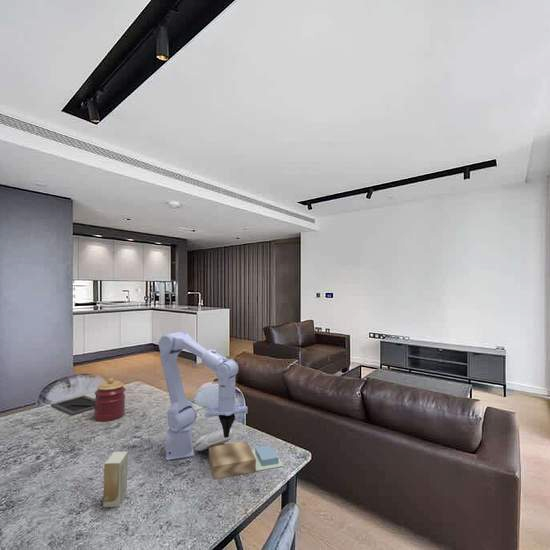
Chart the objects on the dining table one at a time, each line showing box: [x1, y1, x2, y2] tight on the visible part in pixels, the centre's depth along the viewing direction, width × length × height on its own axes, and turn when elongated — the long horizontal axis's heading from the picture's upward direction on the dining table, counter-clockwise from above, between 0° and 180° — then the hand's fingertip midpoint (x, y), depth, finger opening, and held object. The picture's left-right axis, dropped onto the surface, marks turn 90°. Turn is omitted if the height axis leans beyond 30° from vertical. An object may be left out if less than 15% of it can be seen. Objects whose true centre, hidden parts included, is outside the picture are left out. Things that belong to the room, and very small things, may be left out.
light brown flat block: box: [208, 440, 257, 480], centre depth 108 cm, size 14×13×4 cm
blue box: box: [254, 444, 279, 466], centre depth 112 cm, size 6×9×2 cm, turn 18°
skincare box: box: [102, 451, 129, 508], centre depth 90 cm, size 6×4×12 cm
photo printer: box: [194, 428, 234, 452], centre depth 117 cm, size 10×4×12 cm
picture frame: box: [50, 395, 95, 417], centre depth 159 cm, size 16×2×21 cm
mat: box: [251, 448, 285, 472], centre depth 112 cm, size 10×13×1 cm
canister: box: [93, 377, 126, 422], centre depth 148 cm, size 13×13×18 cm
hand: (226, 436), depth 108 cm, fingers closed
